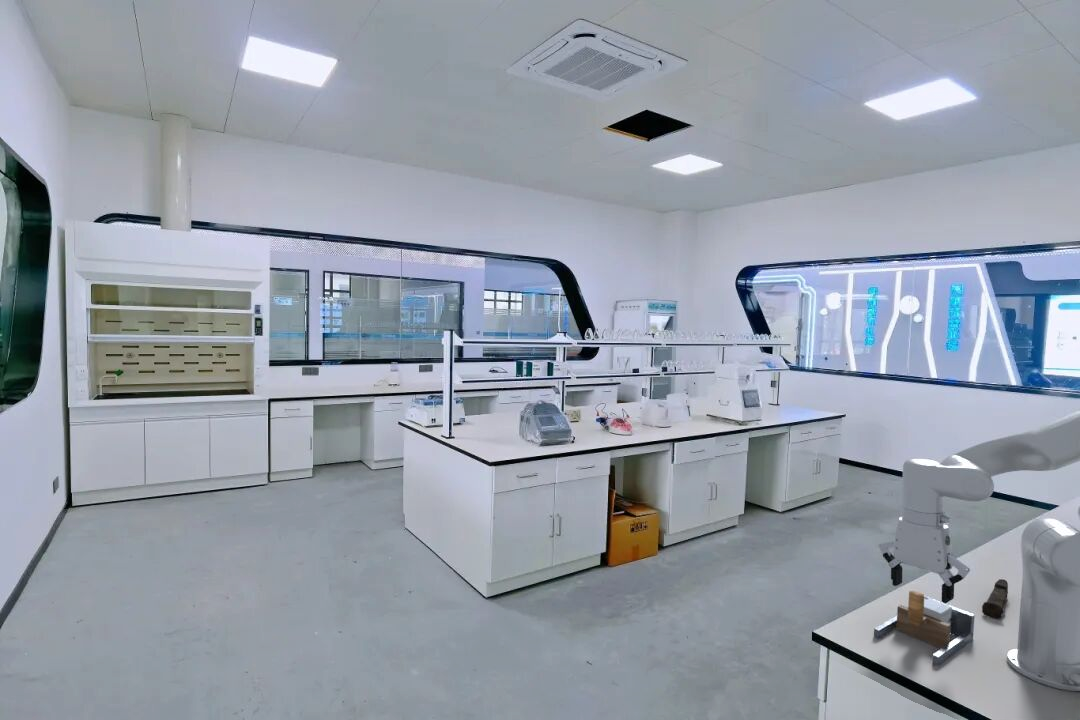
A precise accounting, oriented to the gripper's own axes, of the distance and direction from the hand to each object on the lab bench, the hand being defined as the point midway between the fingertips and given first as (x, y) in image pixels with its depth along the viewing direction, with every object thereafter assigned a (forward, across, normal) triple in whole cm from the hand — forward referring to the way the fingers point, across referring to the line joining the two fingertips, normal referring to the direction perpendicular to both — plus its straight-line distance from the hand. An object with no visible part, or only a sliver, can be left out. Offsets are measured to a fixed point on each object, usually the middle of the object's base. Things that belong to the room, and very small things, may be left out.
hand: (921, 592), depth 121 cm
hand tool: (+13, -2, -38) cm, 40 cm away
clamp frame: (+12, +1, -4) cm, 13 cm away
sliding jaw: (+12, +1, -1) cm, 12 cm away
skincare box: (+13, +1, -7) cm, 14 cm away
